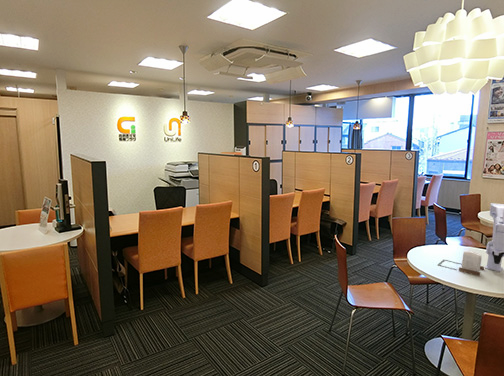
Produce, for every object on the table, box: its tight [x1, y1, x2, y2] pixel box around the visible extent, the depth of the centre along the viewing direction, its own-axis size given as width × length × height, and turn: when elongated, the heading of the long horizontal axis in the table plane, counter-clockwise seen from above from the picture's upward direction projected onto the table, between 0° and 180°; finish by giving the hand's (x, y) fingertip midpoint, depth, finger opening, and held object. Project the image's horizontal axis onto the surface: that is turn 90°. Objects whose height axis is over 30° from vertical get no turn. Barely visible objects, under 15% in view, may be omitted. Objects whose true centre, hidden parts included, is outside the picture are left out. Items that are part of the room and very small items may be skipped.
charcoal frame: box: [437, 259, 462, 271], centre depth 211 cm, size 15×12×1 cm
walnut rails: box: [458, 265, 485, 277], centre depth 202 cm, size 14×11×2 cm
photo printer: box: [461, 250, 482, 273], centre depth 201 cm, size 10×4×12 cm, turn 31°
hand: (496, 263), depth 192 cm, fingers closed
